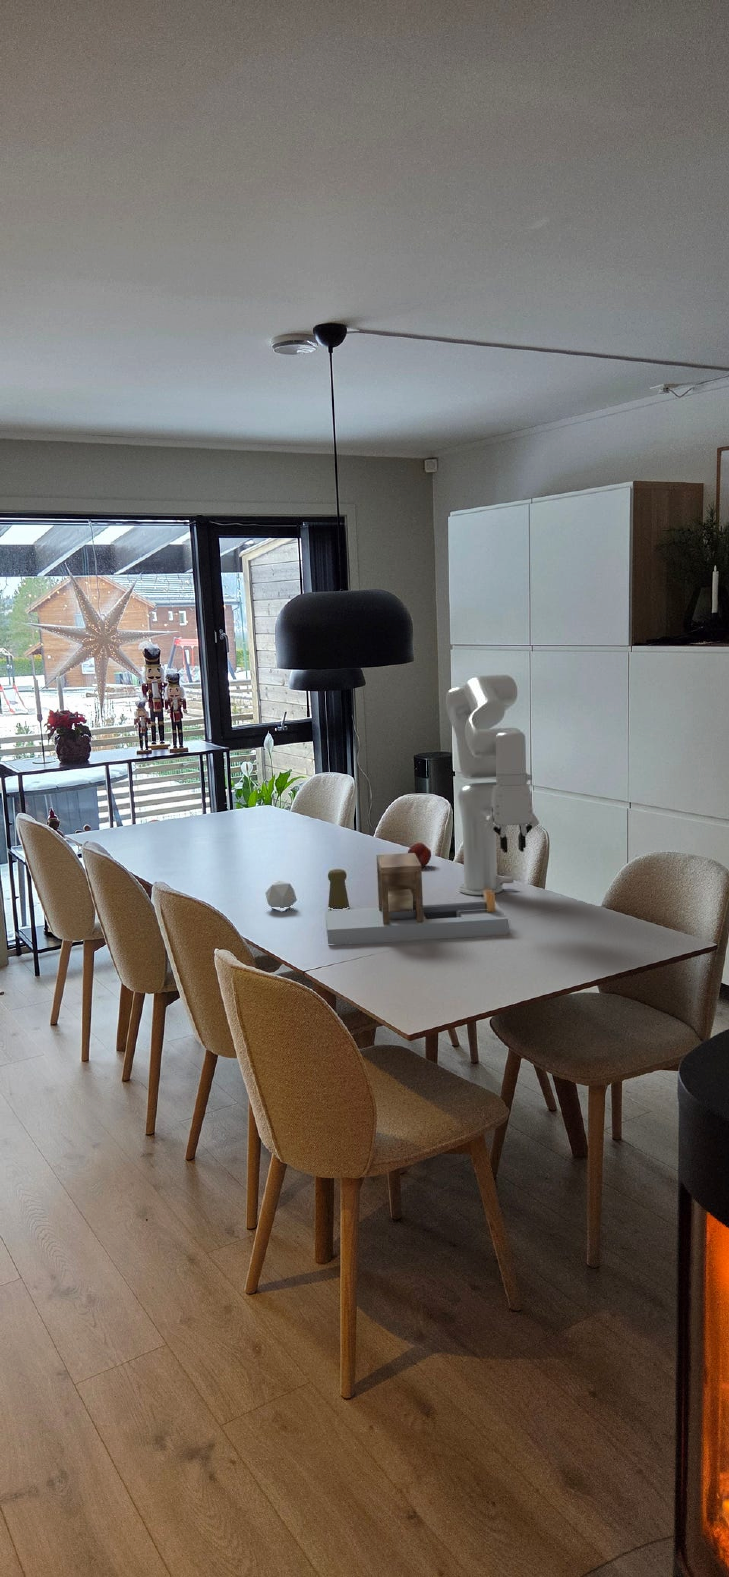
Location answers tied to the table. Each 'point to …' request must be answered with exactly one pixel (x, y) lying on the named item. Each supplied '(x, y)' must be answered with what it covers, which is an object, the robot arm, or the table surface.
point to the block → (400, 900)
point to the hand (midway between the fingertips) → (513, 850)
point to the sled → (447, 907)
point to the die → (281, 895)
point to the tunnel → (399, 880)
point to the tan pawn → (337, 889)
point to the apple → (421, 853)
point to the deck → (412, 925)
